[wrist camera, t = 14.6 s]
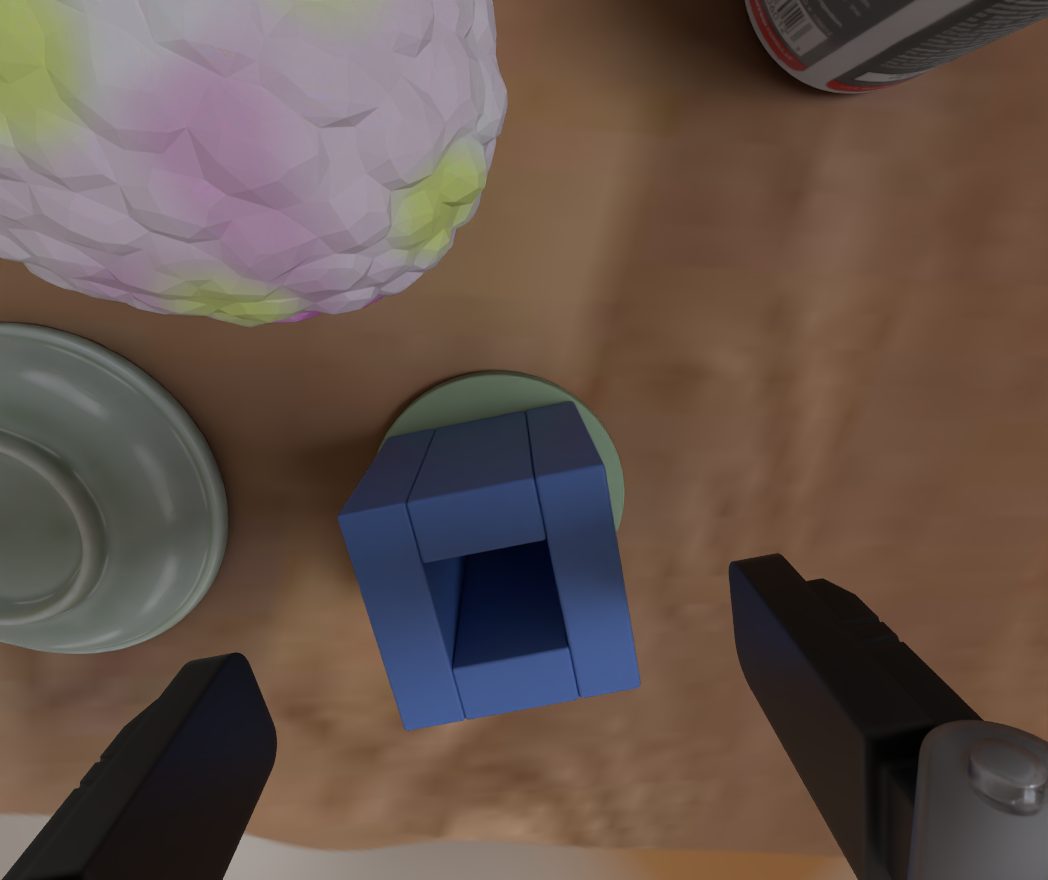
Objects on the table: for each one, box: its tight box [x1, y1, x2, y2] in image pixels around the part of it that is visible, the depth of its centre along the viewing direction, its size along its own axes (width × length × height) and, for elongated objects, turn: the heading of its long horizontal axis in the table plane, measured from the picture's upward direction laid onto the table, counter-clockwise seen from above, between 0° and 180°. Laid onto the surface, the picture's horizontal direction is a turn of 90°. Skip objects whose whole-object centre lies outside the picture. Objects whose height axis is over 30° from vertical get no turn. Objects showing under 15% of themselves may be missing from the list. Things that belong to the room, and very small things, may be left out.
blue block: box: [337, 401, 641, 731], centre depth 14 cm, size 5×5×5 cm
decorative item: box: [0, 0, 508, 327], centre depth 10 cm, size 9×11×10 cm
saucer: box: [0, 322, 228, 654], centre depth 15 cm, size 10×10×2 cm
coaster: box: [376, 371, 625, 533], centre depth 16 cm, size 7×7×1 cm
